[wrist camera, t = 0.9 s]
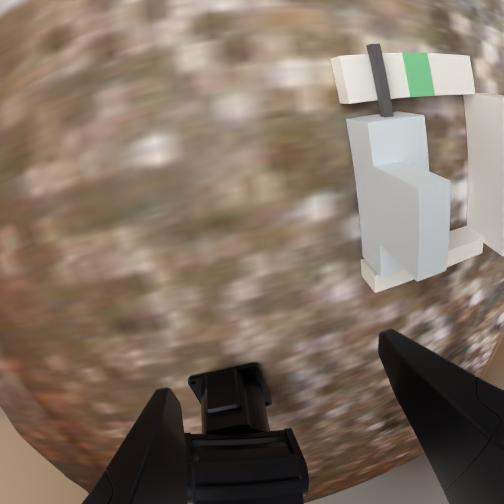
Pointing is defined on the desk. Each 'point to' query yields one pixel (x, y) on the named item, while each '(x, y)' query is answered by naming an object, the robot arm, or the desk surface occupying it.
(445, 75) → the gauge housing
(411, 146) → the gauge plunger
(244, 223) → the desk surface
